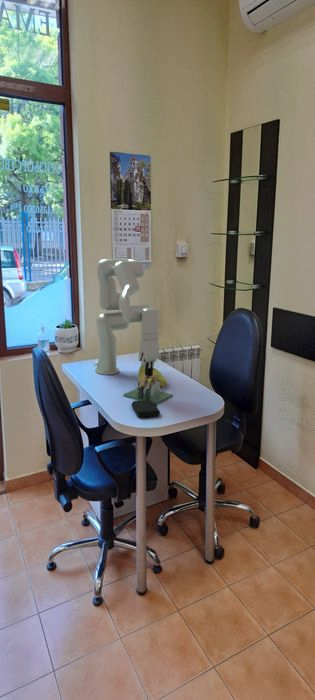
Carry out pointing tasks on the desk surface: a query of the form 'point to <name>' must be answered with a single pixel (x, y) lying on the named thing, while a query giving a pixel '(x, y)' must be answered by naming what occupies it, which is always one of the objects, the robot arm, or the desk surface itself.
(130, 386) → the desk surface
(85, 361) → the desk surface
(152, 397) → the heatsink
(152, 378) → the tan rectangular block
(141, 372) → the plastic component
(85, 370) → the desk surface
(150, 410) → the carrying case or bag
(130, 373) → the desk surface
